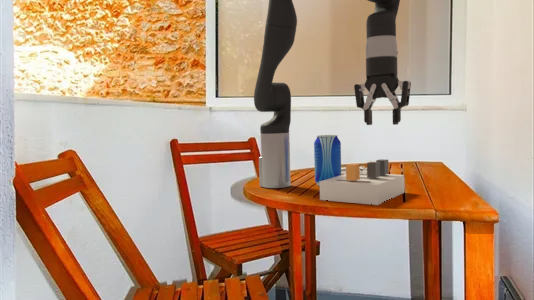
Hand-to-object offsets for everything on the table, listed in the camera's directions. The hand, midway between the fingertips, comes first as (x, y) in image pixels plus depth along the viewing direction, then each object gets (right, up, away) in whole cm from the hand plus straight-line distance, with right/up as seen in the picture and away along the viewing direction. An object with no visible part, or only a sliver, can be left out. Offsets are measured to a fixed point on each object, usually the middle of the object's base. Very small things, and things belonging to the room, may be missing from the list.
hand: (382, 124), depth 113 cm
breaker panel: (-2, -19, +11) cm, 22 cm away
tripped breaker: (-6, -14, +6) cm, 16 cm away
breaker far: (+4, -13, +14) cm, 20 cm away
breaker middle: (0, -14, +9) cm, 16 cm away
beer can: (-9, -18, +33) cm, 39 cm away
